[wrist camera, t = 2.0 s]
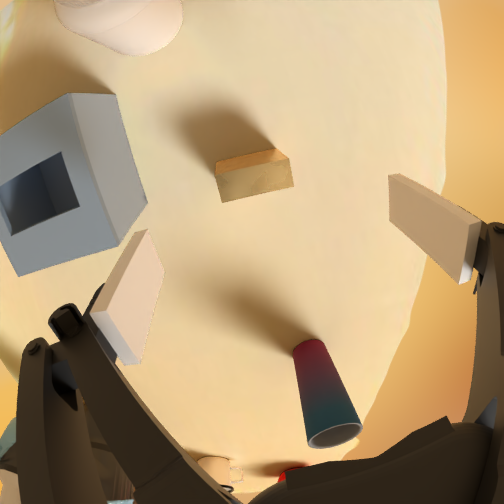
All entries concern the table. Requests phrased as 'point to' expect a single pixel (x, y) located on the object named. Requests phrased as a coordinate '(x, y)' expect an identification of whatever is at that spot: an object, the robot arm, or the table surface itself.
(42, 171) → the grey hollow box
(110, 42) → the pill bottle
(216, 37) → the table surface
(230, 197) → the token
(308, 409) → the cup
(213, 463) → the mug
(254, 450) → the table surface
